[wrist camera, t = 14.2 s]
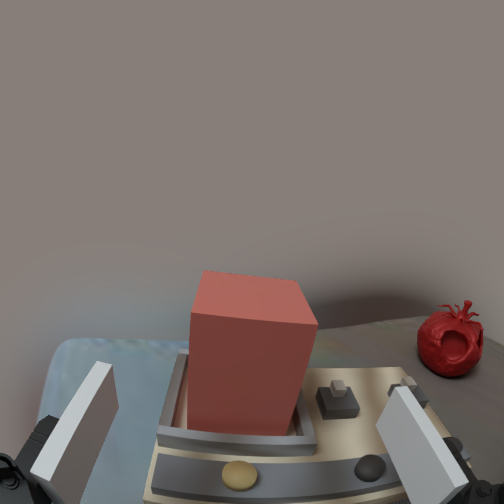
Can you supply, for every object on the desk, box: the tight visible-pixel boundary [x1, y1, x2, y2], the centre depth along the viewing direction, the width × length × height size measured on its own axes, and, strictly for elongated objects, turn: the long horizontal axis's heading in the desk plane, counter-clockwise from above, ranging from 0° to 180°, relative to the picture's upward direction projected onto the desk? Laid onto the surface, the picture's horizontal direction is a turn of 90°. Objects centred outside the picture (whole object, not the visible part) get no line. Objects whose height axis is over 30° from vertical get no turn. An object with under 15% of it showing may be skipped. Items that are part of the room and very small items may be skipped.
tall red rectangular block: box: [187, 270, 318, 436], centre depth 21 cm, size 7×7×10 cm
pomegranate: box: [417, 300, 484, 377], centre depth 31 cm, size 10×10×9 cm
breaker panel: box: [143, 348, 472, 504], centre depth 21 cm, size 24×16×4 cm, turn 93°
